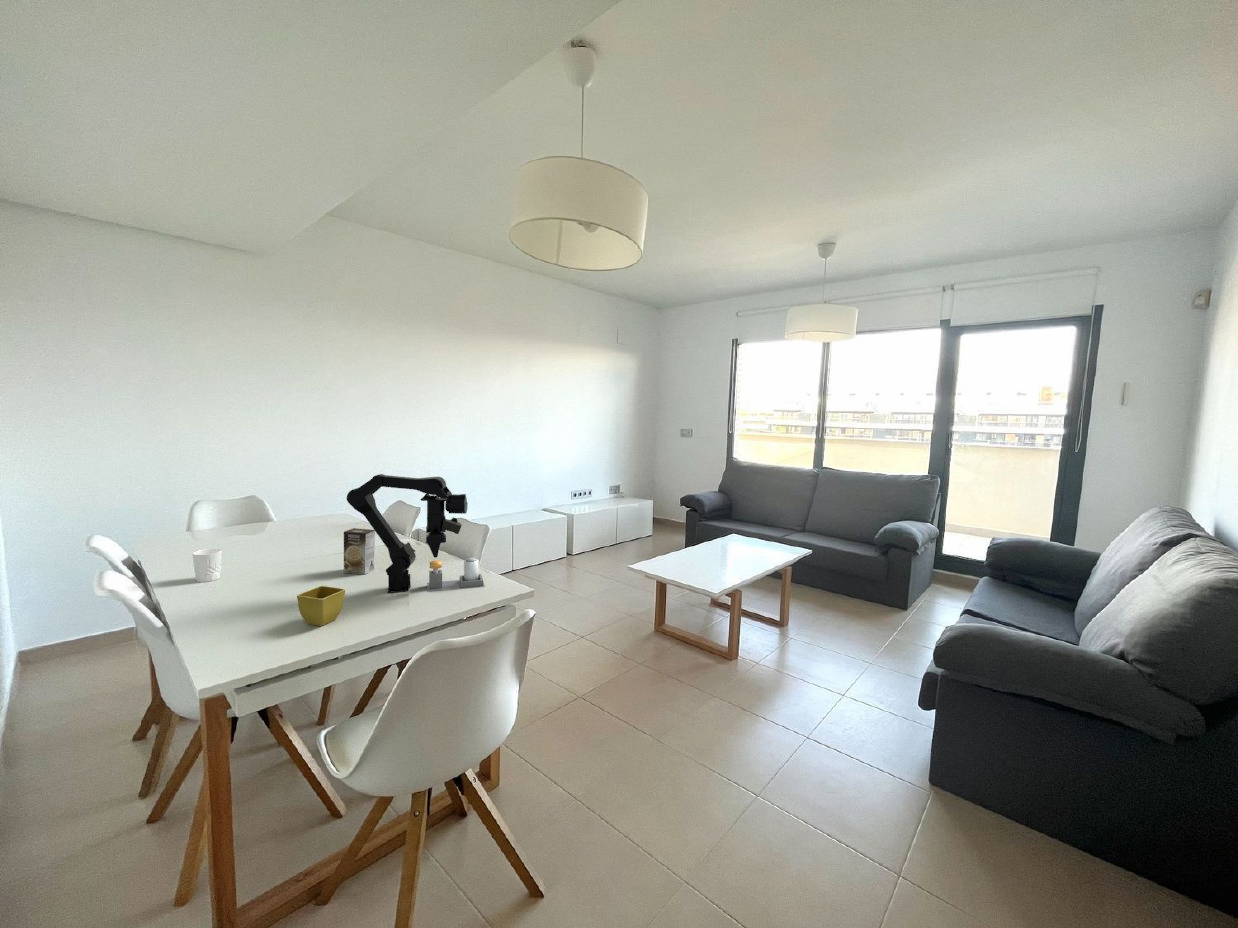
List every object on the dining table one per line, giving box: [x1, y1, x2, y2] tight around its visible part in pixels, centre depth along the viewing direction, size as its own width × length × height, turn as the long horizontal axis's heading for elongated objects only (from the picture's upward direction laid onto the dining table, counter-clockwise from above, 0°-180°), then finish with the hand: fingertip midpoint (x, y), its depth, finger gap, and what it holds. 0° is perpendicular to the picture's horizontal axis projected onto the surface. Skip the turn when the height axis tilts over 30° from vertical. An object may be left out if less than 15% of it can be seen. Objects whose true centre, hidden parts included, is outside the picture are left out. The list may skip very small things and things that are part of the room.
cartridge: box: [463, 557, 480, 581], centre depth 172 cm, size 5×5×9 cm
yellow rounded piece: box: [429, 559, 443, 573], centre depth 168 cm, size 4×4×6 cm
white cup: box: [192, 548, 223, 583], centre depth 170 cm, size 8×8×10 cm
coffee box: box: [343, 527, 376, 575], centre depth 184 cm, size 9×6×16 cm
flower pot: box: [296, 585, 346, 627], centre depth 138 cm, size 9×9×9 cm
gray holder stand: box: [426, 569, 486, 593], centre depth 171 cm, size 19×10×6 cm, turn 112°
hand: (435, 557), depth 168 cm, fingers closed
